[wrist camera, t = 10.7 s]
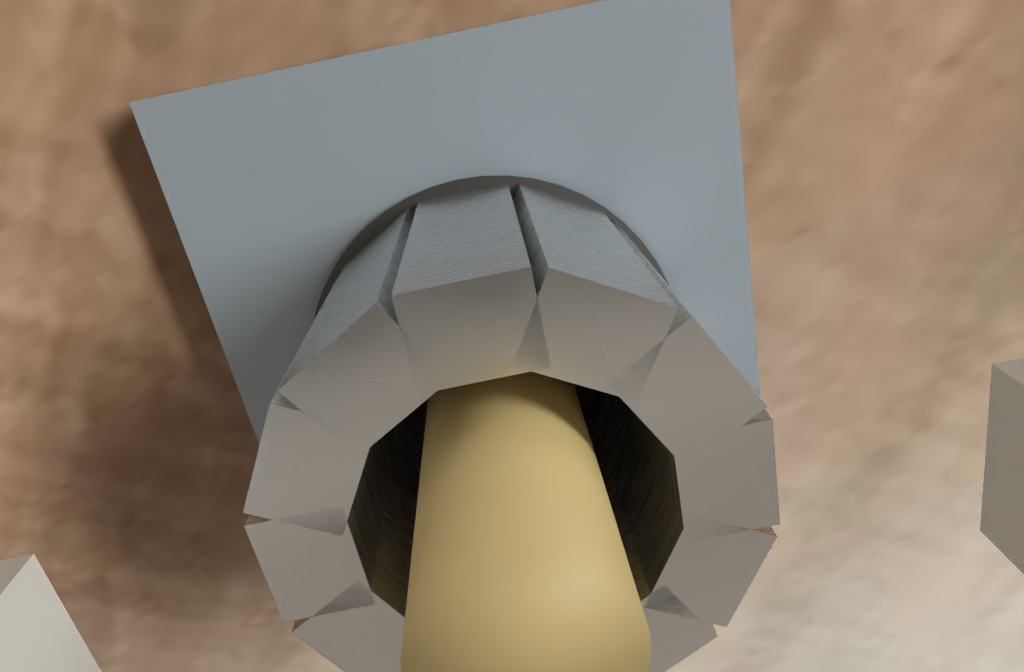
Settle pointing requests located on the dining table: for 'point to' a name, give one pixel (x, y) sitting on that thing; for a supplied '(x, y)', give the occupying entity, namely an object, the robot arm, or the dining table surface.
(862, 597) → the dining table surface
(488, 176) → the square base plate
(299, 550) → the ring
